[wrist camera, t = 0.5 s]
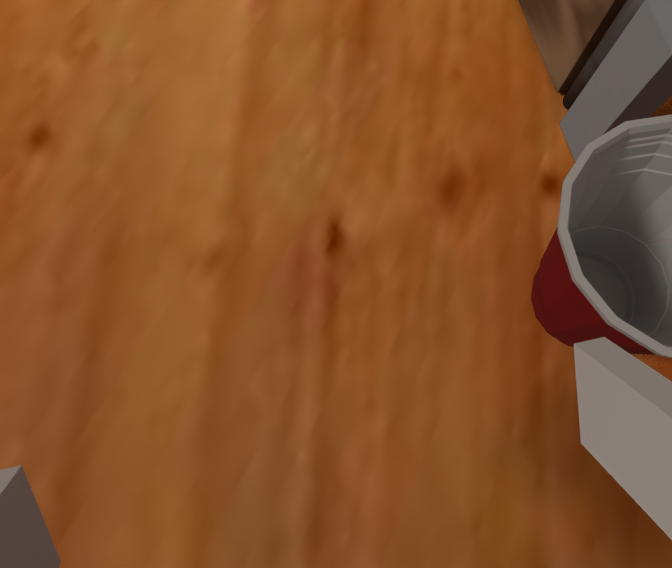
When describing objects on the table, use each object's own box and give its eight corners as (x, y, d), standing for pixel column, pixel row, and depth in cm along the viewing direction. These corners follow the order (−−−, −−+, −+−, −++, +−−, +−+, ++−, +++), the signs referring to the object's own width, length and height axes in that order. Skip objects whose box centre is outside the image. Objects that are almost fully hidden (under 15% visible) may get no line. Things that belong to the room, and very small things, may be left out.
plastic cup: (695, 251, 34) (872, 160, 23) (644, 420, 32) (811, 416, 20) (523, 185, 36) (607, 67, 24) (461, 343, 33) (522, 297, 22)
